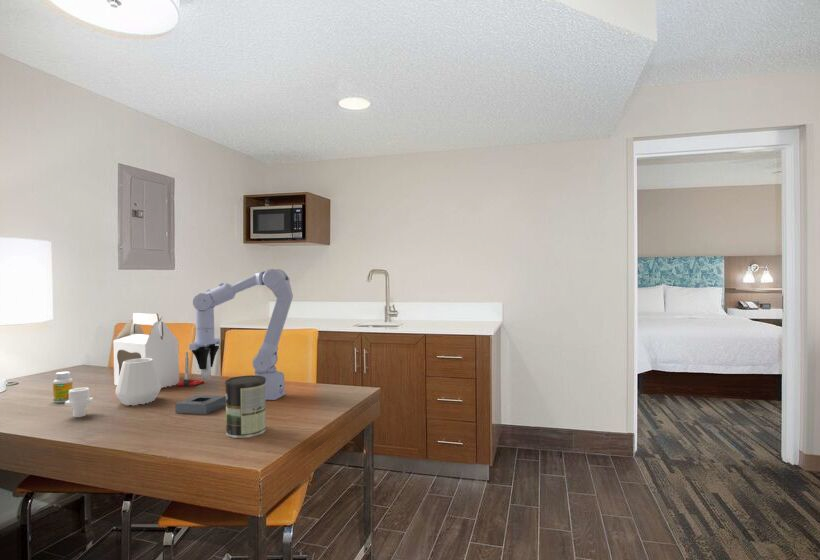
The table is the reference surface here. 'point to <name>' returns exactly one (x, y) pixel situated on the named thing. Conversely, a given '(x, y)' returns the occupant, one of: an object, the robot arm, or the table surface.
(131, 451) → the table surface
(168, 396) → the table surface
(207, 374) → the pin
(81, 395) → the pipe fitting
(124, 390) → the cup
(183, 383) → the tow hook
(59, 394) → the supplement bottle
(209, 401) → the clevis block
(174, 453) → the table surface
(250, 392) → the coffee can
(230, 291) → the robot arm
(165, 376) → the gable box
